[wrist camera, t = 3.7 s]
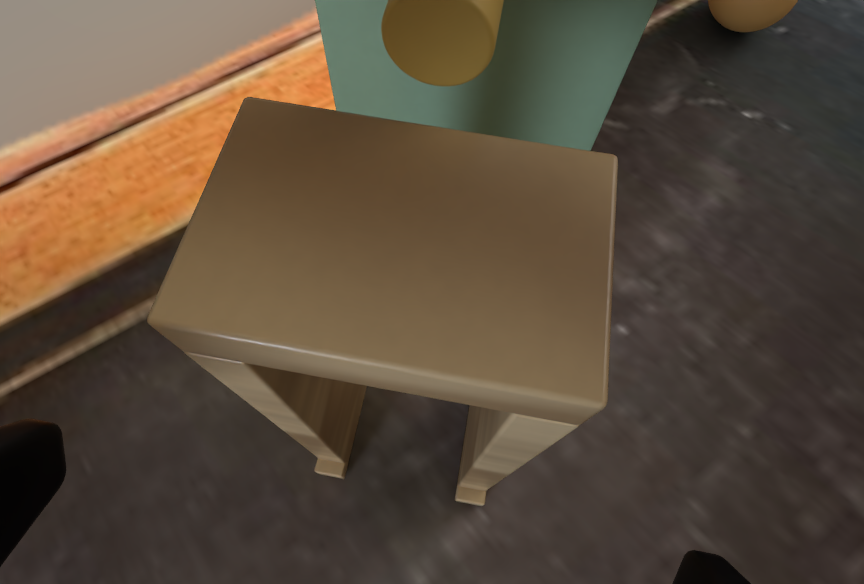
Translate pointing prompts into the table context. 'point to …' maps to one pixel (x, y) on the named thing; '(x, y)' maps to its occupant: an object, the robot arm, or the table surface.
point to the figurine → (749, 13)
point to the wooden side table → (399, 280)
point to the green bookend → (484, 63)
